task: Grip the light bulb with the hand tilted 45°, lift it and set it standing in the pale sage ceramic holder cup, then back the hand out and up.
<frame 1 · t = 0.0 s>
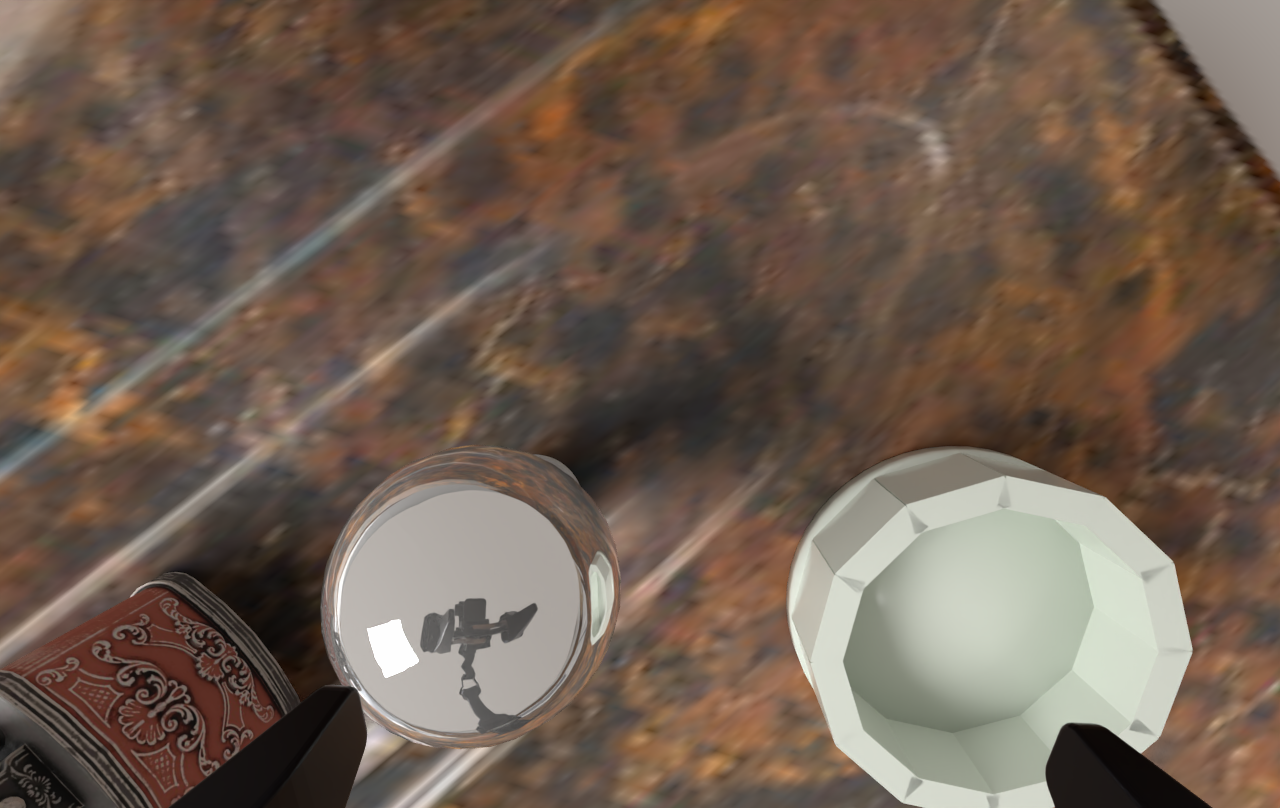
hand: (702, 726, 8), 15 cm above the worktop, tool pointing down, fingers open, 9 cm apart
light bulb: (544, 486, 24), on the worktop
lighter: (227, 652, 26), on the worktop
bulb holder: (943, 598, 24), on the worktop
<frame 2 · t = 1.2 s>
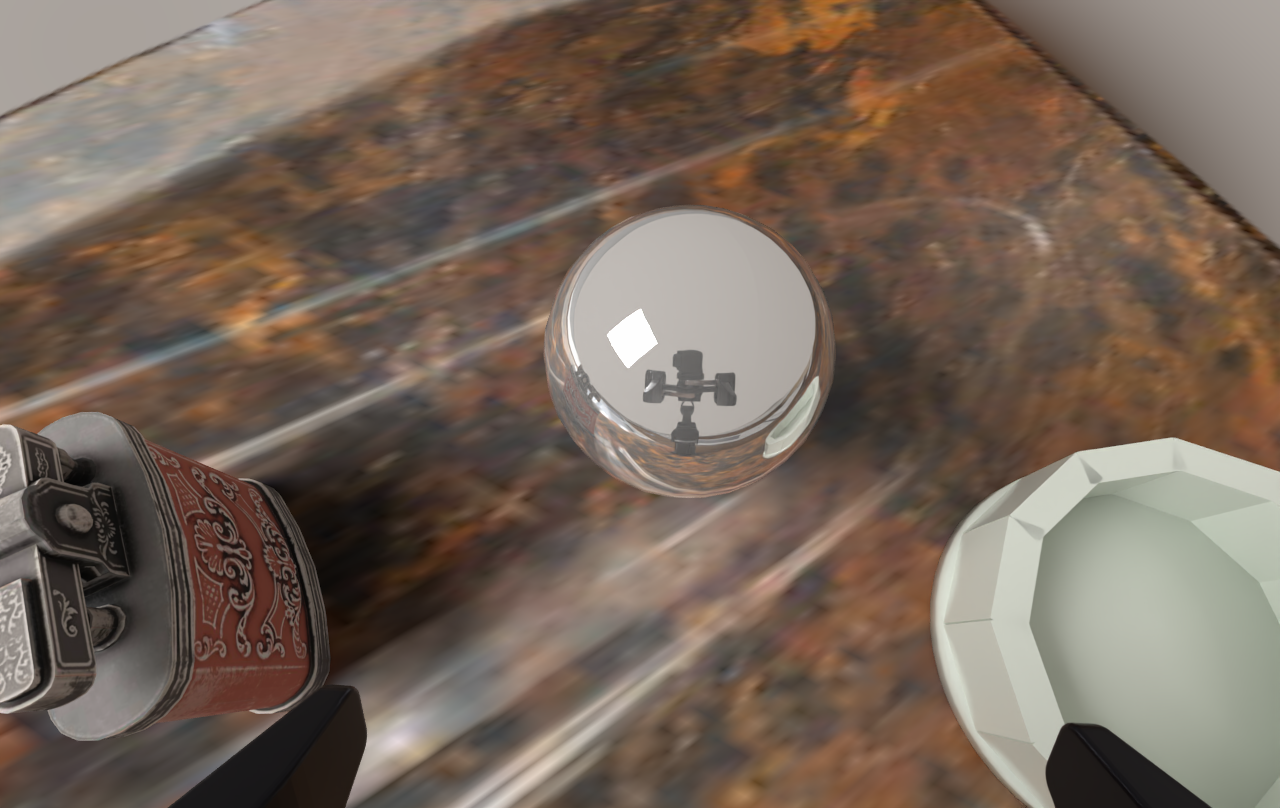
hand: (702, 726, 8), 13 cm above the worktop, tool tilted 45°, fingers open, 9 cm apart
light bulb: (674, 456, 24), on the worktop
lighter: (270, 591, 22), on the worktop
bulb holder: (1114, 647, 21), on the worktop
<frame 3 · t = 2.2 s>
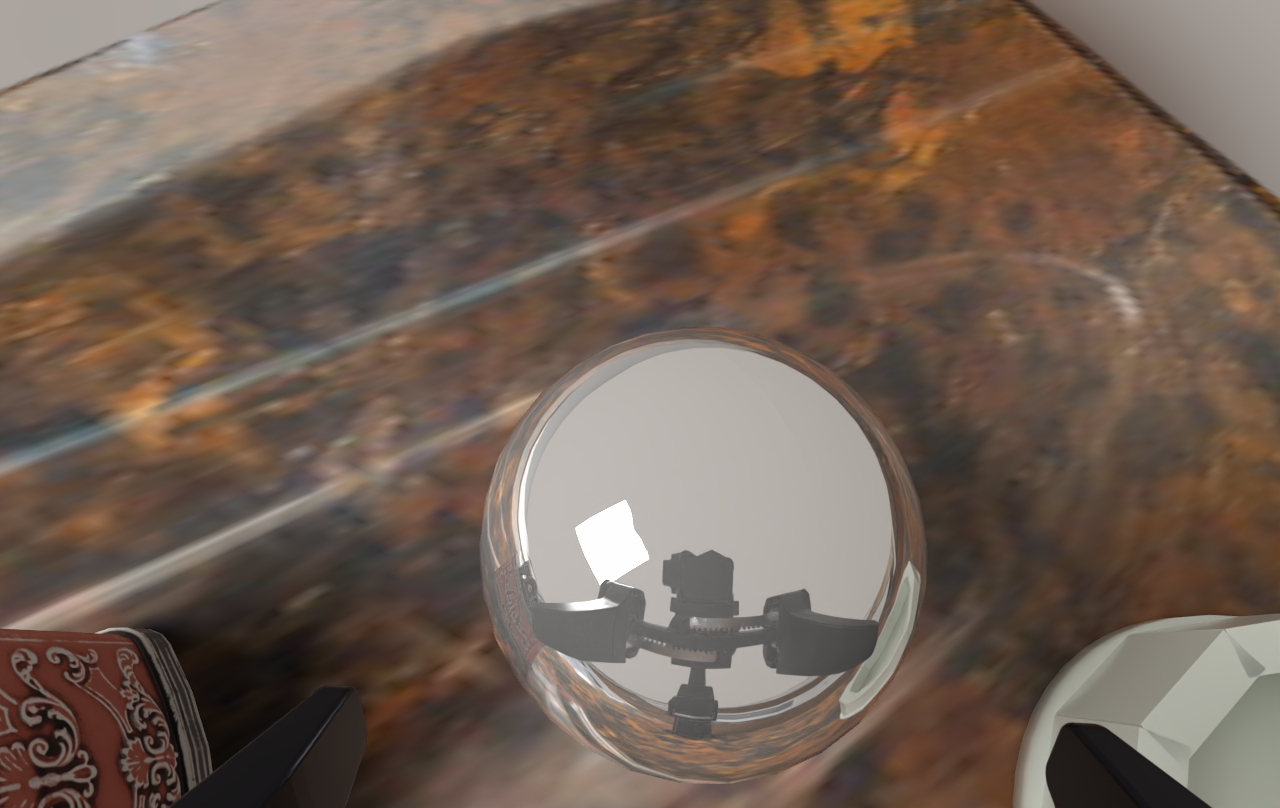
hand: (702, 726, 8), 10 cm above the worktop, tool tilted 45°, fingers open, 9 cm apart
light bulb: (676, 591, 18), on the worktop
lighter: (150, 778, 17), on the worktop
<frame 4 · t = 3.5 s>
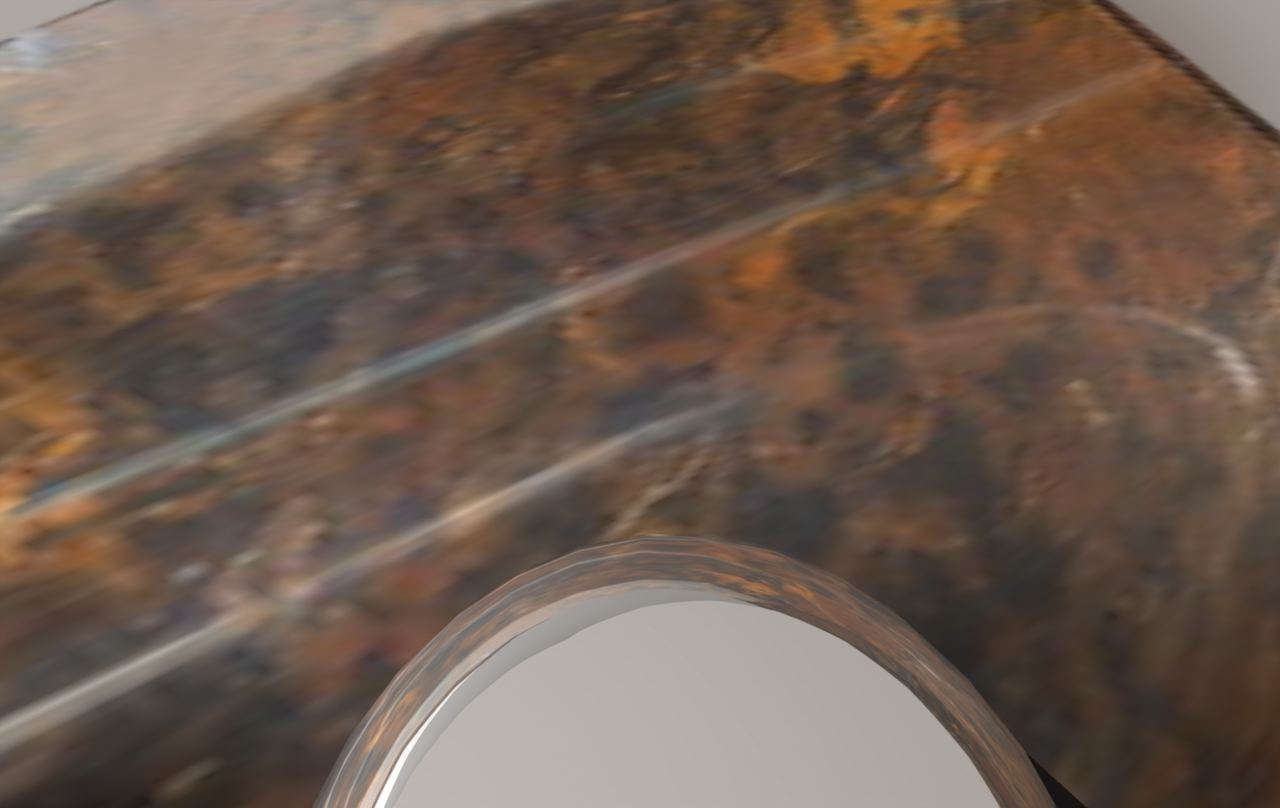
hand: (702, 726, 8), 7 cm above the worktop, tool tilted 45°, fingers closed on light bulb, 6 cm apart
light bulb: (675, 768, 14), on the worktop, touching gripper
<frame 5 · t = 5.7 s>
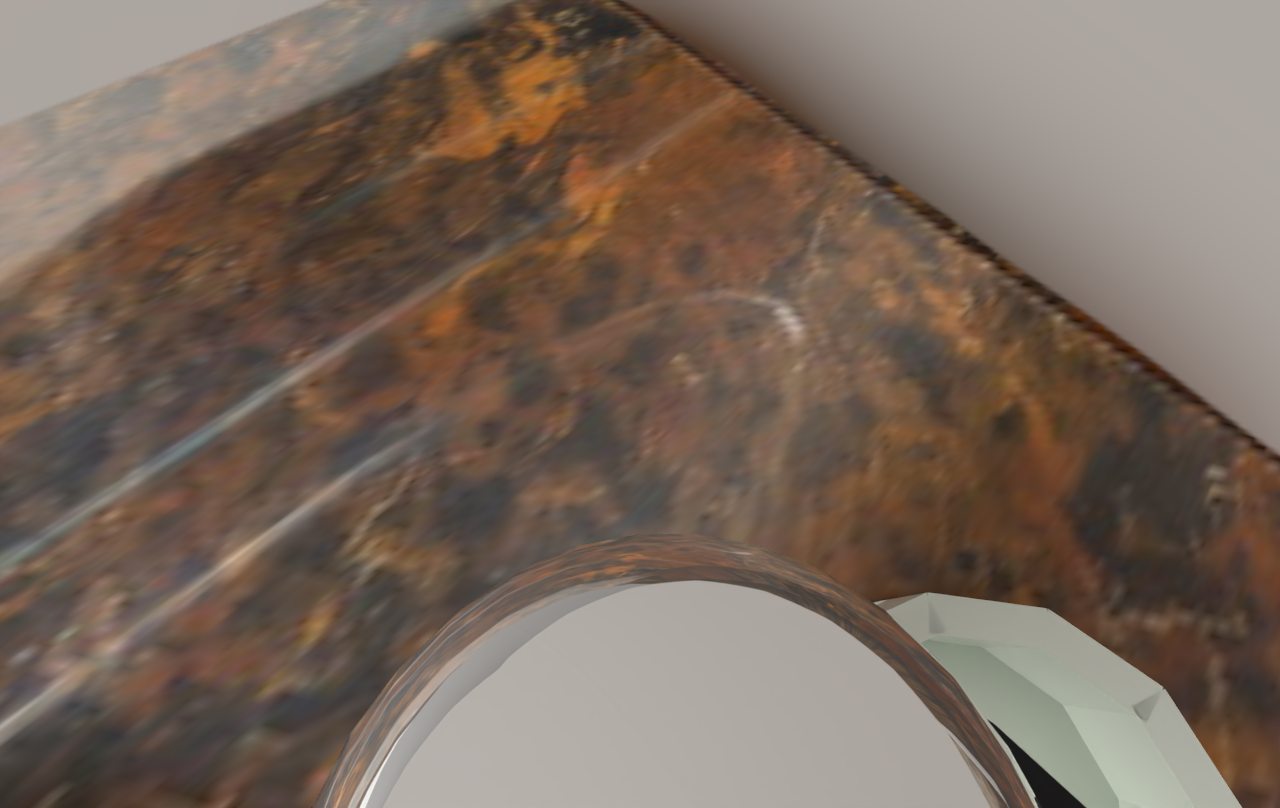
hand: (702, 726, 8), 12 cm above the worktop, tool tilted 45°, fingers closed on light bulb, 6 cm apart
light bulb: (680, 760, 14), point 5 cm above the worktop, touching gripper
when the fingers open (8 cm above the worktop, at t = 7.7 s): light bulb stays where it is, resting on bulb holder.
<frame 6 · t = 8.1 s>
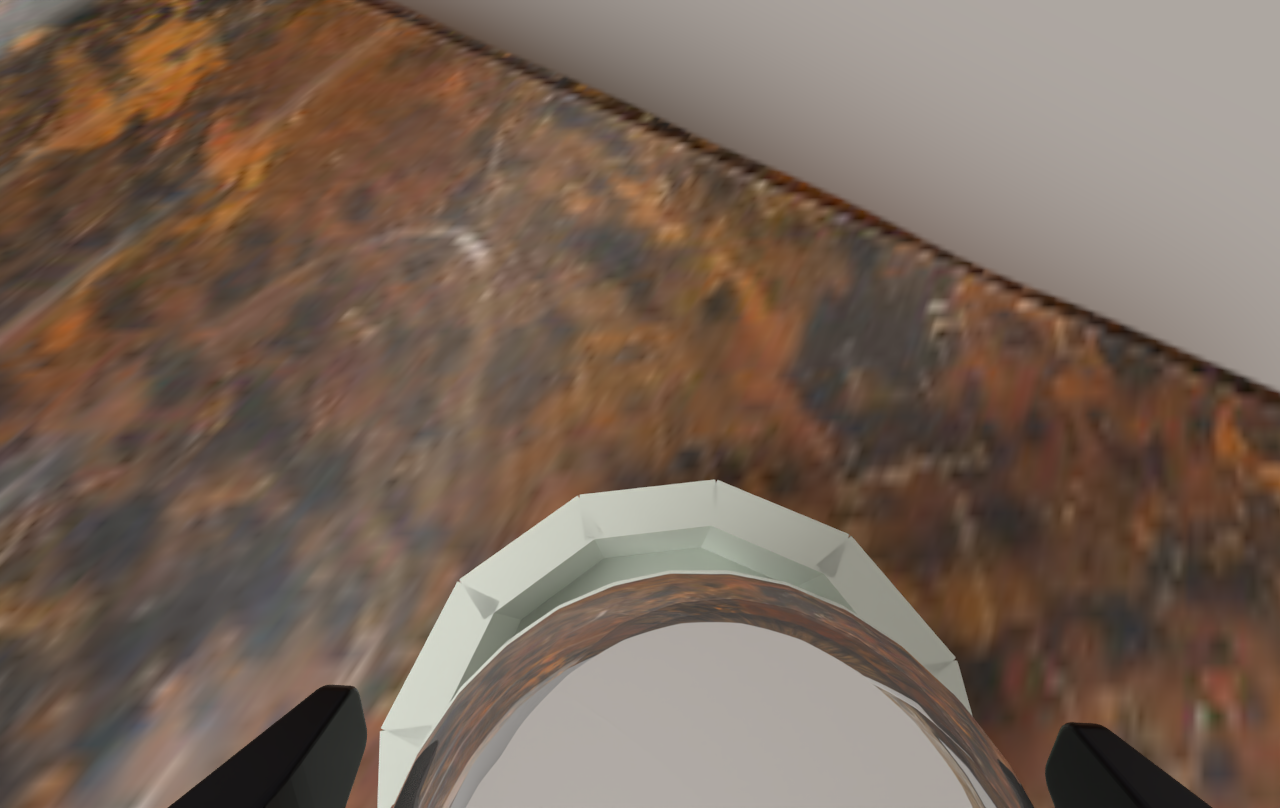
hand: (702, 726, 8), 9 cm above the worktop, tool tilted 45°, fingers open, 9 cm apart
light bulb: (677, 766, 15), point 1 cm above the worktop, touching bulb holder
bulb holder: (674, 751, 16), on the worktop
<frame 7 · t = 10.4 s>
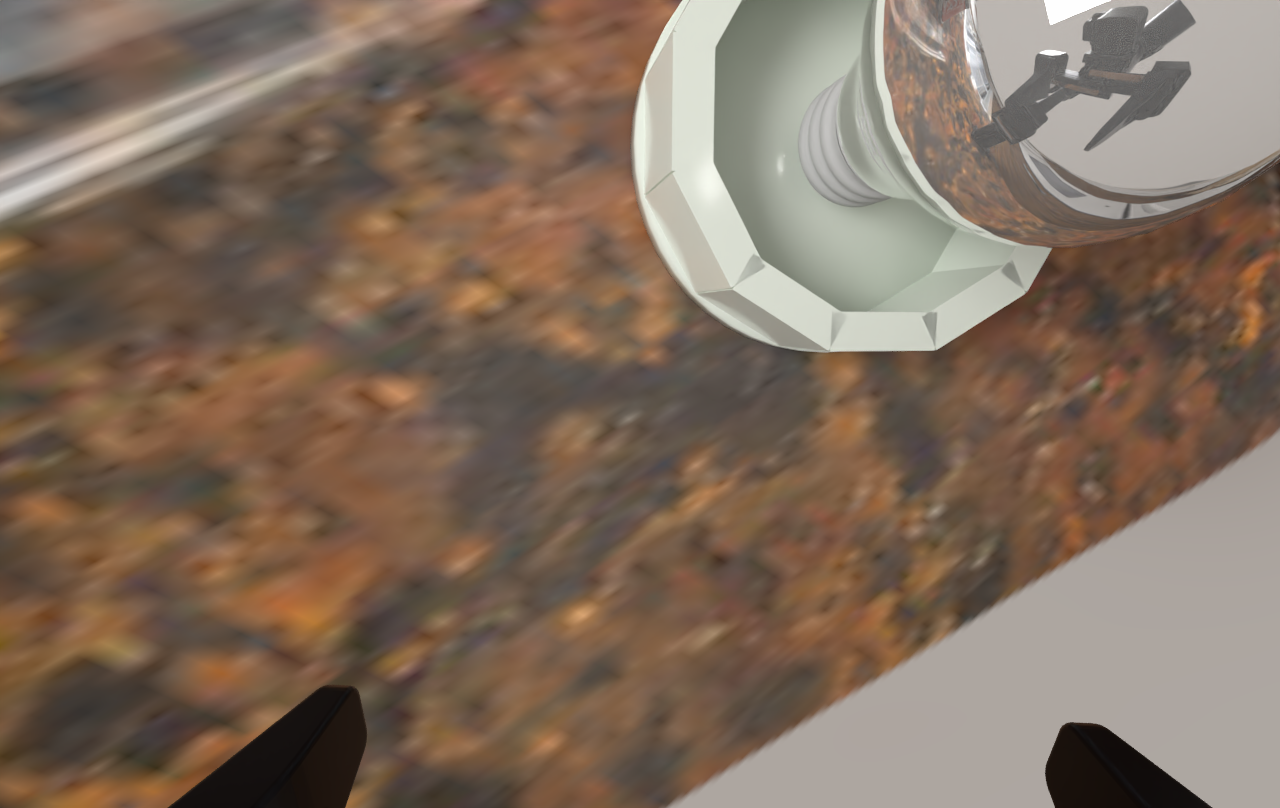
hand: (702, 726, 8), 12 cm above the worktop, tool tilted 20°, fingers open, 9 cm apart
light bulb: (828, 157, 19), point 1 cm above the worktop, touching bulb holder
bulb holder: (818, 158, 20), on the worktop
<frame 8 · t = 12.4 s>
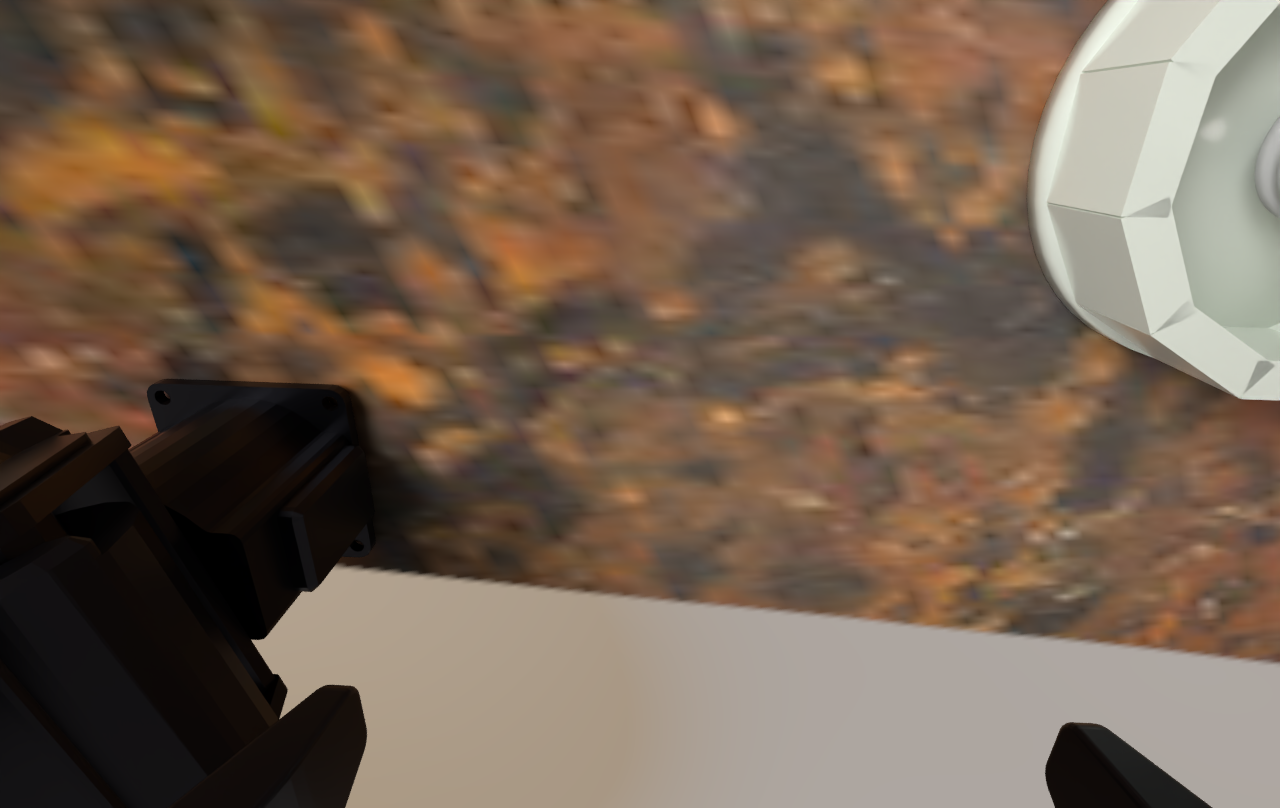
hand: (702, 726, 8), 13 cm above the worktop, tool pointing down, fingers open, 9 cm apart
light bulb: (1279, 149, 16), point 1 cm above the worktop, touching bulb holder
bulb holder: (1260, 144, 17), on the worktop
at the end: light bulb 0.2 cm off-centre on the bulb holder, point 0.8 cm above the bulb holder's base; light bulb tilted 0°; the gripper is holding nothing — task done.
